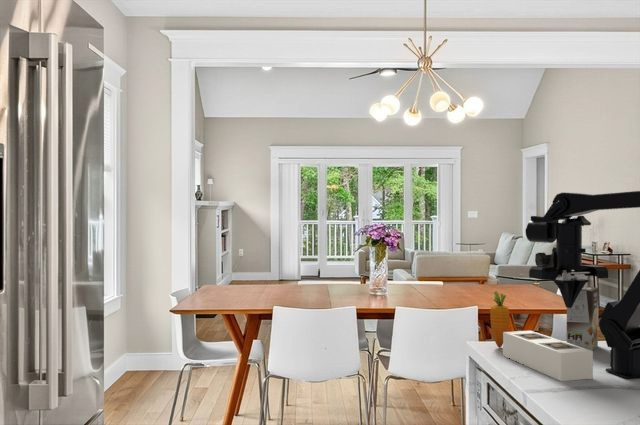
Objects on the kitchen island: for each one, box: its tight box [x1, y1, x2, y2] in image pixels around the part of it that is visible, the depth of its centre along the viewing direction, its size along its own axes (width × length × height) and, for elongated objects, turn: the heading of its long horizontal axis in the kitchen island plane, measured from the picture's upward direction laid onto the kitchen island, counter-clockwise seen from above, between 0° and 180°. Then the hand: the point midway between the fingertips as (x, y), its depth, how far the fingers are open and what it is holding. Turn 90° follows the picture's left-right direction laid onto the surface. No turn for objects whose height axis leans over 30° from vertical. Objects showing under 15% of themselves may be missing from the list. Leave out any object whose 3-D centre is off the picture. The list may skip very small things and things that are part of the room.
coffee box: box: [566, 286, 599, 352], centre depth 149 cm, size 9×6×16 cm
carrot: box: [489, 290, 510, 349], centre depth 149 cm, size 5×5×15 cm
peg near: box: [550, 344, 568, 349], centre depth 126 cm, size 4×4×6 cm
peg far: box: [524, 335, 540, 339], centre depth 135 cm, size 4×4×6 cm
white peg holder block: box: [502, 330, 594, 382], centre depth 130 cm, size 22×8×6 cm, turn 14°
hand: (568, 307), depth 136 cm, fingers closed
